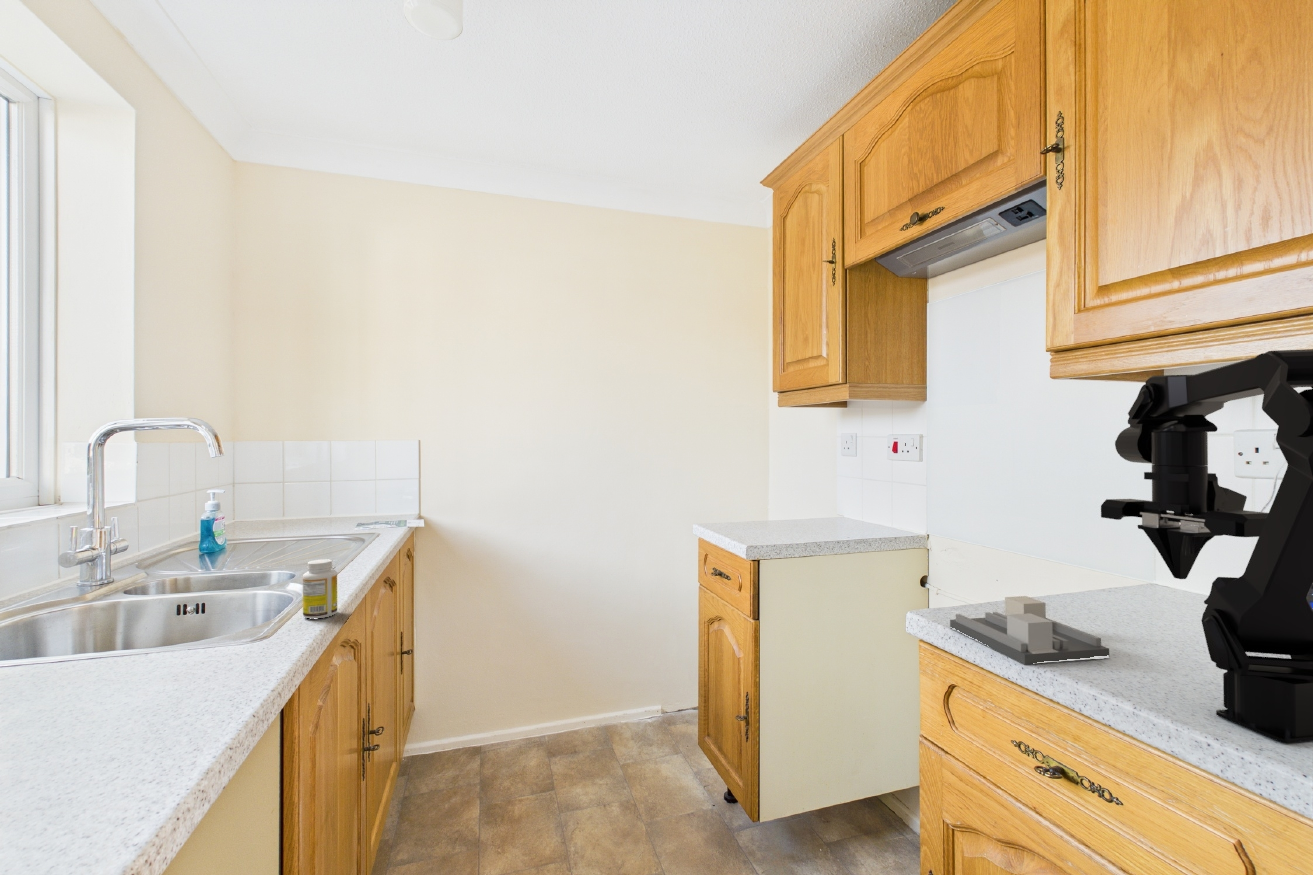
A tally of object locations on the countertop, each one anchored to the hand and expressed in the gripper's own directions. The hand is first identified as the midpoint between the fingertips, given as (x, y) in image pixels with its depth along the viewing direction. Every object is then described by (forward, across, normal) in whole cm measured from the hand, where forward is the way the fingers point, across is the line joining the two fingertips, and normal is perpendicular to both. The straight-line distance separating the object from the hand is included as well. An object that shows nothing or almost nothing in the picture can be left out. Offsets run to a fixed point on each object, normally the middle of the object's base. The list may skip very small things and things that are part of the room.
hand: (1180, 578), depth 78 cm
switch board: (+13, +14, +12) cm, 23 cm away
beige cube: (+11, +18, +8) cm, 23 cm away
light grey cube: (+11, +9, +16) cm, 21 cm away
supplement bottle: (+13, +48, +129) cm, 139 cm away
